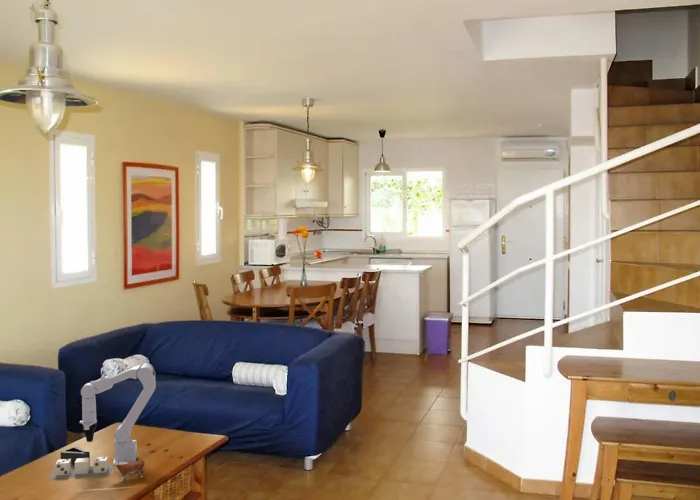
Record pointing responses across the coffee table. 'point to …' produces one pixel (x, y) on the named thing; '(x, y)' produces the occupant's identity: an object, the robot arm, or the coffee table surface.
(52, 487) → the coffee table surface
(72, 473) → the slate mat
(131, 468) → the bull figurine
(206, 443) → the coffee table surface
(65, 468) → the birch block three pips
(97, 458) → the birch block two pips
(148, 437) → the coffee table surface
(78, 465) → the birch block plain
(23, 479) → the coffee table surface
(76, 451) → the door stopper
